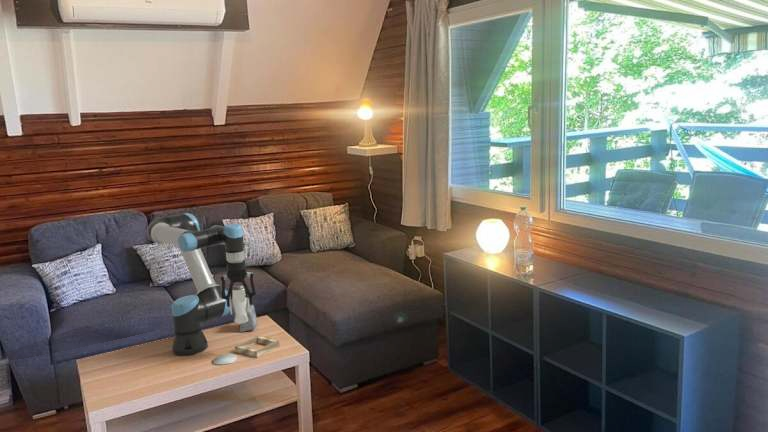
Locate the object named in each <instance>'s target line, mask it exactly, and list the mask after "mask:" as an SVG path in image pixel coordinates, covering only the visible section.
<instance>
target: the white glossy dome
mask: <svg viewBox="0 0 768 432" xmlns="http://www.w3.org/2000/svg"><path fill="white" fill-rule="evenodd" d="M237 360H238V355H236V354H234V353H224V354H220V355H218V356H216V357H214V358H213V360H212V362H213V364H214V365H217V366H226V365H230V364H232V363H235V362H236V361H237Z"/></svg>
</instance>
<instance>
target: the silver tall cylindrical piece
mask: <svg viewBox="0 0 768 432" xmlns="http://www.w3.org/2000/svg"><path fill="white" fill-rule="evenodd" d="M230 297H231V302H232V311H233V317H234V319H233V323H234V324H238V325H240V324H242V323H246V322H248V317H247V306H248V302H247V298H248V294H247V292H246V288H244V286H243V285H235V286H234V285H233V287H232V289H231V294H230Z"/></svg>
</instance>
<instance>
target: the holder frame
mask: <svg viewBox="0 0 768 432" xmlns="http://www.w3.org/2000/svg"><path fill="white" fill-rule="evenodd" d="M256 344H262V345H264V346H263V347H261V348H259V349H254V348H251V347H252V346H255V345H256ZM279 347H281V346H280V340H275V339H271V338H268V337H263V336H260V335H257V336H254V337H252V338H250V339H248V340H246V341H243V342H242V343H240V344H237V345H235V346H234V349H235V351H234V352H235V353H238V354H243V355H245V354H246V356H249V357H253V358H260V357H262V356H264V355H265V354H268V353H270V352H272V351H273V350H275V349H277V348H279Z"/></svg>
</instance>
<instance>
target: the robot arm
mask: <svg viewBox="0 0 768 432" xmlns="http://www.w3.org/2000/svg"><path fill="white" fill-rule="evenodd" d="M146 235H147V237H148V239H149V240H150V241H151V242H153V243H156V244H159V245H161V244H169V245H173V246H175V247H178V248H179V250H180V253H181V256H182V257H183V261H184V262H185V264H186V267H187V270H188V272H189V274H190V276H191V278H192V281H193V284H194V287H195V288H196V291H197V292H196V294H195V295H194V294H190V295H185V296H181V297H179V298H177V299H176V300H174V301H173V302H172V304H171V315H172V316H171V317H172V322H173V329H174V337H173V343H172V346H171V349H172V353H173V354H174V355H176V356H181V357H182V356H193V355H196V354H199V353H202V352H204V351H205V350H207V349H208V347H209V345H208V340H207V338H206V335H205V333H204V332H203V329H202V328H203V327H202V324H204V323H206V322H210V321H212V320H216V319H221V318H222V317H225V316H227V315H229V314H230V315H233V306H232V302H231V289H232V287H234V284H235V283H241V284H242V286H244V288H246V292H247V296H248V298H247V302H248V303H247V306H248V313H249V312H250V305H253V297H255V296H256V295H257V294H256V287H255V282H254V272H253V271H251V272H249V271H247V270H246V268H247V267H246V261H245V258H246V257H245V246H244V244H245V243H244V232H243V227H242V225H241V224H240V223H230V224H229V223H228V224H225V225H219V224H218V225H213V226H211V227H210V228H207V229H202V230H201V228H200V223H199V221H198V219H197V218H196V216H194V215H193V214H192V213H188V212H185V213H177V214H172V215H168V216H161V217H157V218H155V219H154V220H152V221H151V222H150V223H149V225H148V226H147V229H146ZM219 245H222V246H225V258H226V269H227V273H226V274H222V275H220V281H221V285H220V284H218V283H216V281H215V279H214V277H213V274H212V273H211V270H210V268H209V266H208V263H207V261H206V259H205V255H204V253H203V251H202V249H205V248H210V247H214V246H219ZM247 276H248V279H249V282H250V286H251V287H250V288H251V291H252V292H251V291H250V288H249V286H248V284H247V282H246V280H245V278H246V277H247ZM227 279H228V280H230V282H229V286H228V289H227V290H226V281H227Z"/></svg>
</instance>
